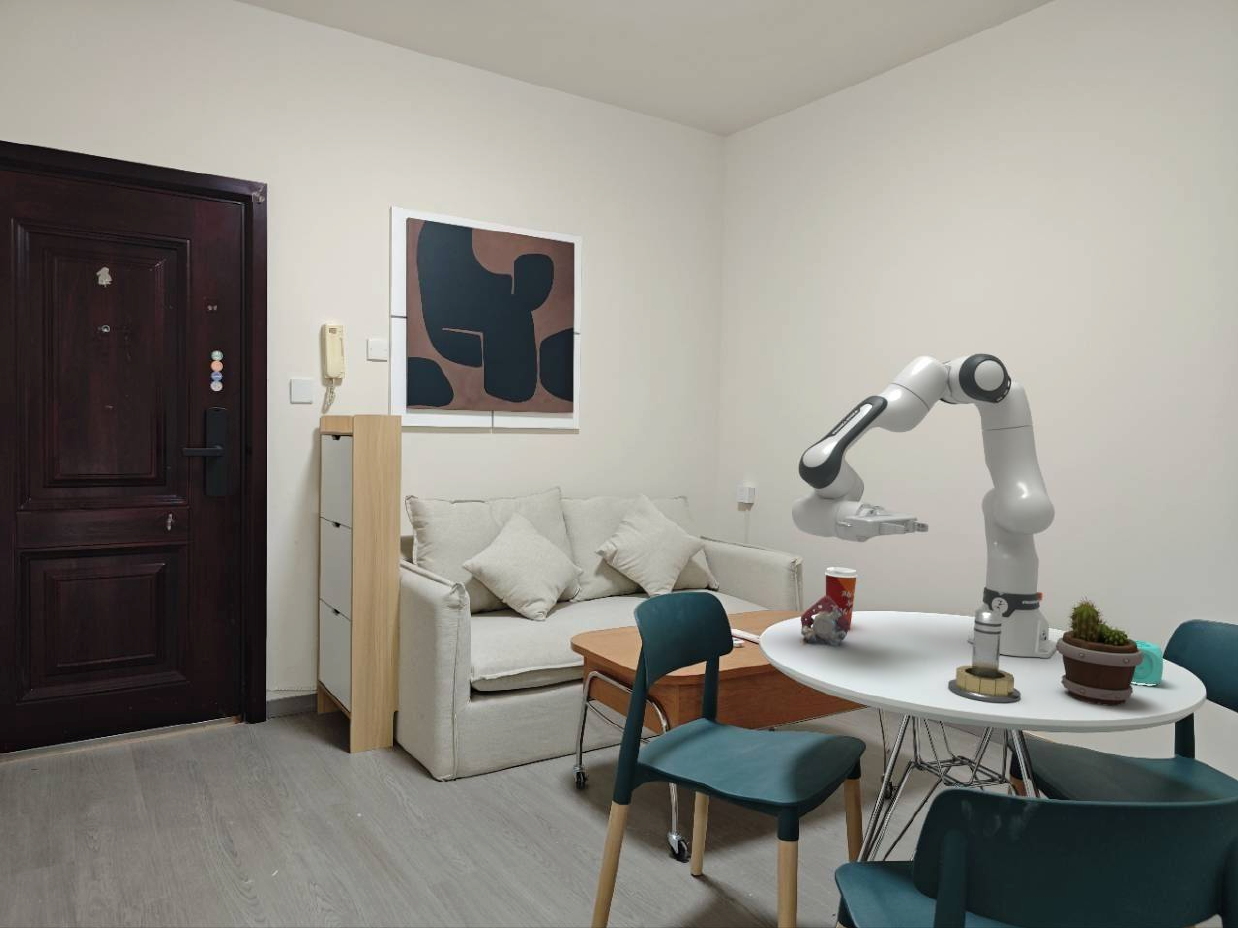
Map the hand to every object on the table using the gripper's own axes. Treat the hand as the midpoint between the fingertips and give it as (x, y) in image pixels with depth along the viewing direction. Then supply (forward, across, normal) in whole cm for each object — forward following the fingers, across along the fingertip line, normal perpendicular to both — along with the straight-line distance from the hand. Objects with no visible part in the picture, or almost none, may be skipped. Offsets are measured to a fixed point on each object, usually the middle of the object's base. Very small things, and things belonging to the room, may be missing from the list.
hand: (915, 529), depth 180 cm
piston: (+17, -2, +29) cm, 34 cm away
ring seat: (+17, -2, +30) cm, 35 cm away
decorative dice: (+33, +35, +30) cm, 57 cm away
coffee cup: (-31, +22, +30) cm, 48 cm away
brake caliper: (-24, +5, +30) cm, 39 cm away
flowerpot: (+32, +14, +30) cm, 46 cm away
